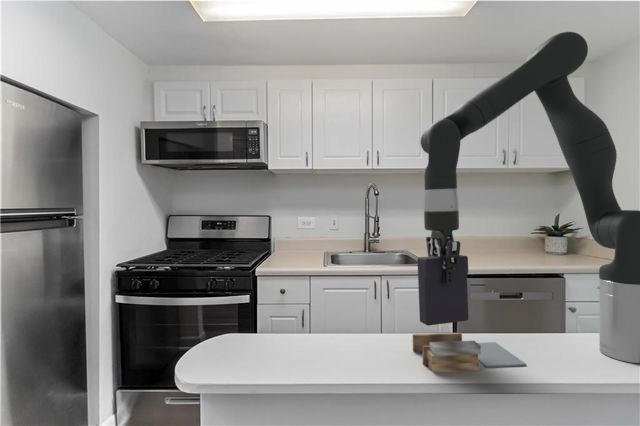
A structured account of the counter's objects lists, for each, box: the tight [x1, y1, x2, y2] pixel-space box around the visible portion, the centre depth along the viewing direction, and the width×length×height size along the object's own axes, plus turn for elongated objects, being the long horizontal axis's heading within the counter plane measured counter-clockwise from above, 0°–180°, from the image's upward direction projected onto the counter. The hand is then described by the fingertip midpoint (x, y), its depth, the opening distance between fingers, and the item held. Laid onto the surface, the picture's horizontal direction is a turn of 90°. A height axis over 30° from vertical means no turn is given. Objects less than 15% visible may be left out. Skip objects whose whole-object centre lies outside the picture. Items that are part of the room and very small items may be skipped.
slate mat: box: [477, 341, 527, 368], centre depth 79 cm, size 9×12×1 cm
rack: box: [412, 332, 463, 366], centre depth 79 cm, size 12×8×4 cm, turn 93°
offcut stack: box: [427, 340, 481, 373], centre depth 73 cm, size 11×3×5 cm, turn 93°
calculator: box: [417, 254, 469, 327], centre depth 78 cm, size 11×4×15 cm, turn 104°
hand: (442, 282), depth 79 cm, fingers closed on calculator, 4 cm apart
